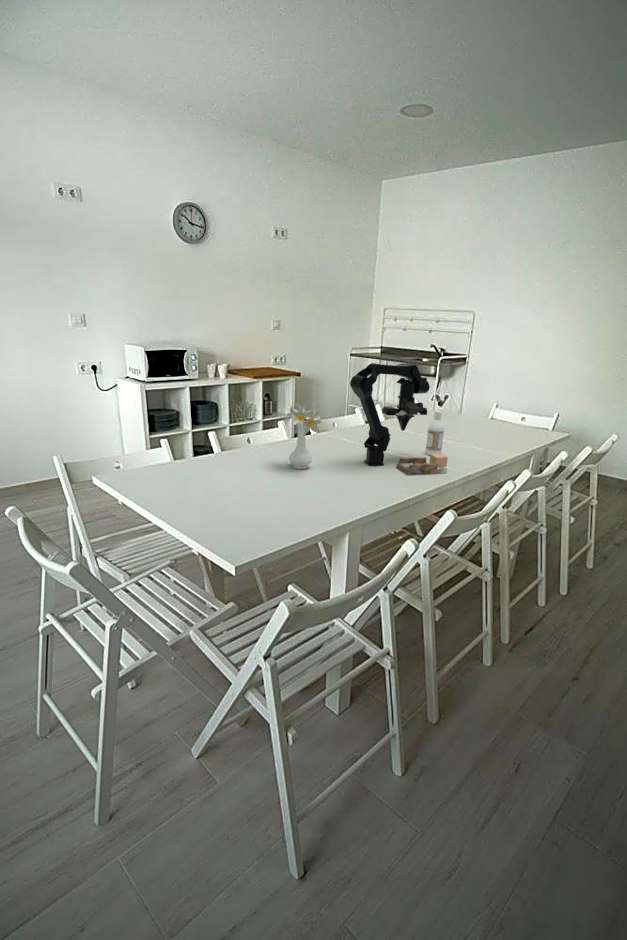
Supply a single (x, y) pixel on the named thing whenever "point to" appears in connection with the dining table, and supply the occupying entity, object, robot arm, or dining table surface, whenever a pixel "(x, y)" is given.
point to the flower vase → (302, 434)
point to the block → (438, 460)
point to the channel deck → (419, 466)
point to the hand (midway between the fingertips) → (402, 430)
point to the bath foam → (435, 435)
